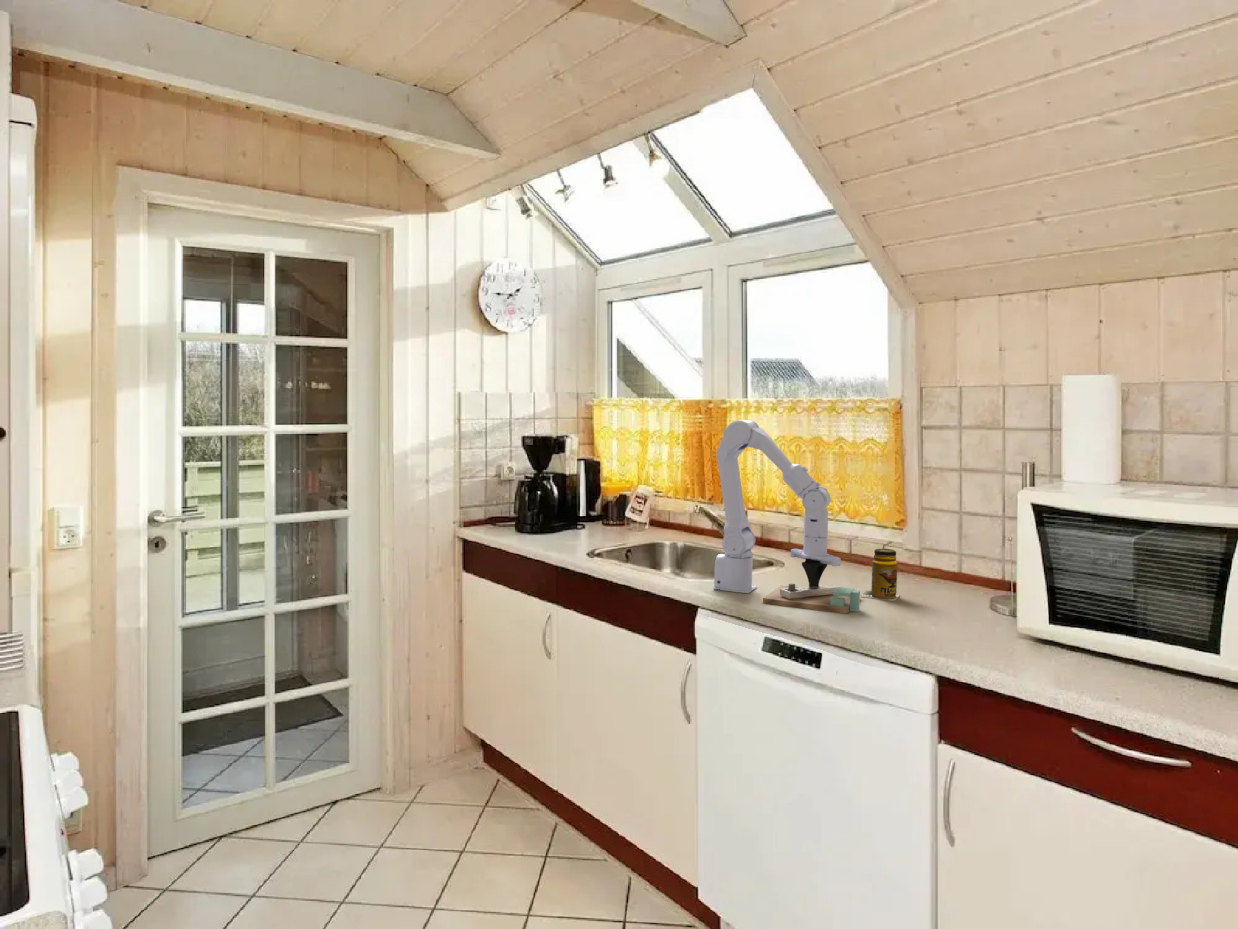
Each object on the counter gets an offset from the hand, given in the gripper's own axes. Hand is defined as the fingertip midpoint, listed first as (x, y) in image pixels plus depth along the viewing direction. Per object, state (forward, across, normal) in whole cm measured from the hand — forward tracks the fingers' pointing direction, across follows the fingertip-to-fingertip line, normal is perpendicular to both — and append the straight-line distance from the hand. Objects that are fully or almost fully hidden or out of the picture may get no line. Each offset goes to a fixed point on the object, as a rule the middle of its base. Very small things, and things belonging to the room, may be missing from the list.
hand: (813, 590), depth 196 cm
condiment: (+2, +8, +16) cm, 18 cm away
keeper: (+2, +12, -2) cm, 12 cm away
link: (+1, +2, -3) cm, 3 cm away
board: (+2, +2, -3) cm, 4 cm away
